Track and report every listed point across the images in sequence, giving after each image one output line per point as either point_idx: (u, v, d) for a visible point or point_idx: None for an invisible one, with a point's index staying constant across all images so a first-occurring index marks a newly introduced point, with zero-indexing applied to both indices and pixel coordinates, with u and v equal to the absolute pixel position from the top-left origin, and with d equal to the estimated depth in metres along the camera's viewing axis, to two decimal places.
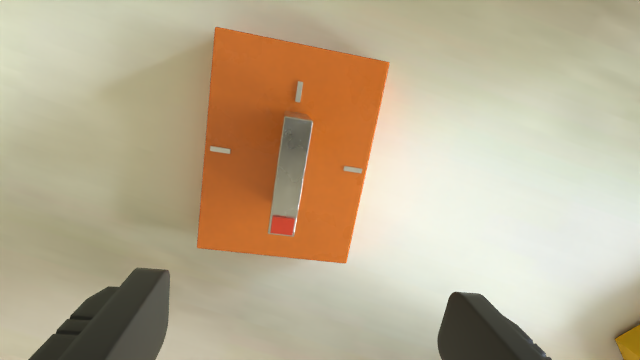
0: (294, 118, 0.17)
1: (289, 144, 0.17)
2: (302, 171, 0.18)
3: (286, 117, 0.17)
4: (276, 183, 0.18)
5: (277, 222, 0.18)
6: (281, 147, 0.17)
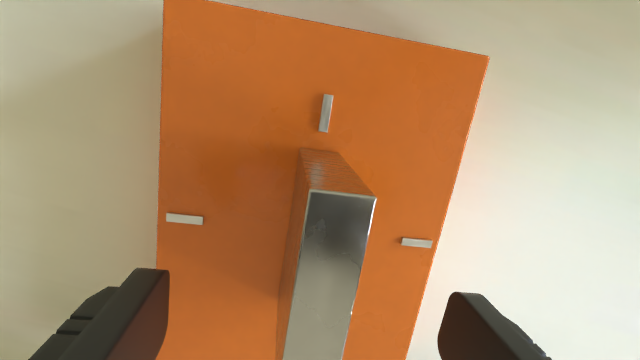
0: (333, 193, 0.07)
1: (320, 250, 0.07)
2: (348, 304, 0.08)
3: (314, 191, 0.07)
4: (290, 332, 0.08)
5: None
6: (302, 258, 0.07)
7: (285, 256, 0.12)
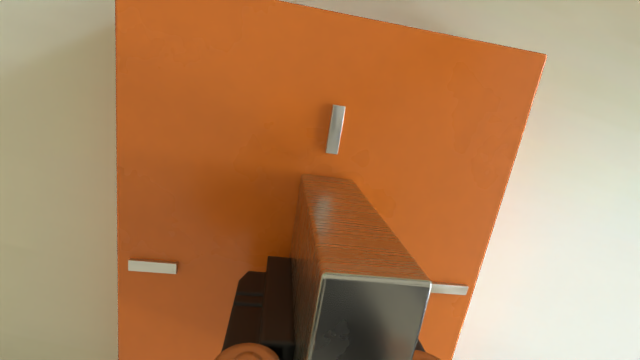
0: (361, 278, 0.04)
1: None
2: None
3: (330, 279, 0.04)
4: None
5: None
6: None
7: None
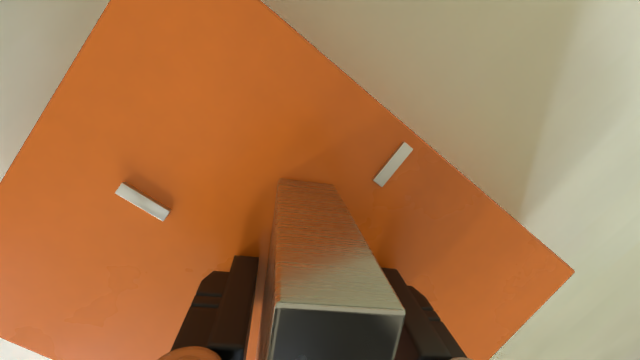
0: (322, 307, 0.04)
1: None
2: None
3: (284, 308, 0.04)
4: None
5: None
6: None
7: (259, 330, 0.09)
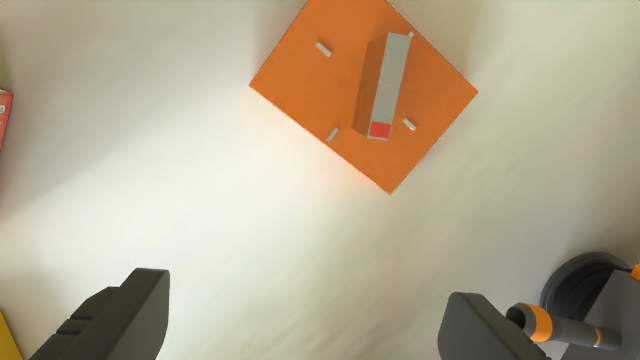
0: (396, 34, 0.20)
1: (390, 56, 0.21)
2: (399, 81, 0.21)
3: (390, 32, 0.20)
4: (377, 92, 0.21)
5: (377, 126, 0.22)
6: (384, 59, 0.21)
7: (360, 96, 0.26)
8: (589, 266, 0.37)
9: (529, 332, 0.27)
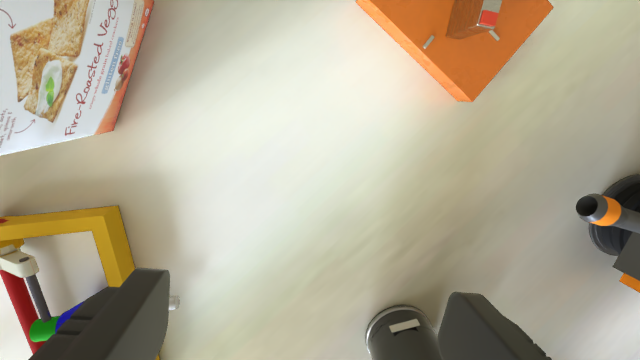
0: None
1: None
2: None
3: None
4: None
5: (487, 13, 0.26)
6: None
7: (457, 3, 0.30)
8: (636, 184, 0.41)
9: (601, 213, 0.31)
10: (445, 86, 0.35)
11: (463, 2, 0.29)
